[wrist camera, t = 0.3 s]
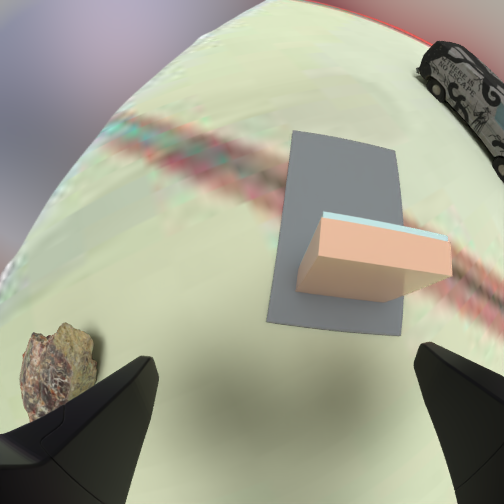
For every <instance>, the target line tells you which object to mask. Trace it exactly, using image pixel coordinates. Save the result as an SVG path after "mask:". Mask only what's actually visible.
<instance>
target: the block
mask: <svg viewBox="0 0 504 504" xmlns="http://www.w3.org/2000/svg"><path fill="white" fill-rule="evenodd" d="M451 276H452V260H451V246H450V242H448V237H447V236H445V235H441V234H437V233H433V232H428V231H424V230H419V229H414V228H410V227H405V226H400V225H395V224H390V223H385V222H380V221H375V220H370V219H364V218H359V217H353V216H348V215H342V214H336V213H330V212H324V211H323V214H322V216H321V218H320V221H319V223H318V225H317V227H316V230H315V232H314V234H313V236H312V239H311V241H310V243H309V245H308V248H307V250H306V252H305V254H304V256H303V259H302V261H301V263H300V266H299V268H298V275H297V283H296V290H295V292H302V293H309V294H317V295H324V296H332V297H340V298H348V299H356V300H365V301H373V302H382V303H384V302H387V301H390V300H393V299H396V298H398V297H401V296H404V295H406V294H409V293H412V292H414V291H417V290H420V289H422V288H425V287H427V286H430V285H432V284H434V283H437V282H439V281H442V280H444V279H446V278H449V277H451Z"/></svg>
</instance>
